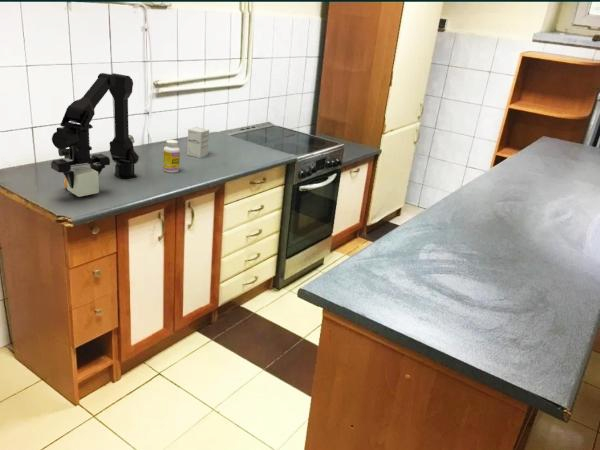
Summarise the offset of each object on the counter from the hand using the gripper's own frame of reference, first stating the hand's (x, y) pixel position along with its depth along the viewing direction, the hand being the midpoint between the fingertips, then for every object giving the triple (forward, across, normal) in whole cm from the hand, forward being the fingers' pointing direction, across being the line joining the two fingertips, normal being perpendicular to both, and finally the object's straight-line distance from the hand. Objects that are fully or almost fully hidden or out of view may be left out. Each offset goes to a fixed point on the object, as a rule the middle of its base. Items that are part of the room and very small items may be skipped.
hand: (82, 186), depth 181 cm
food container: (+4, -36, -29) cm, 46 cm away
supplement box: (+4, -69, -21) cm, 72 cm away
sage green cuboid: (+2, 0, 0) cm, 2 cm away
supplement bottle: (+4, -44, -8) cm, 45 cm away
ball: (+1, 0, -8) cm, 8 cm away
